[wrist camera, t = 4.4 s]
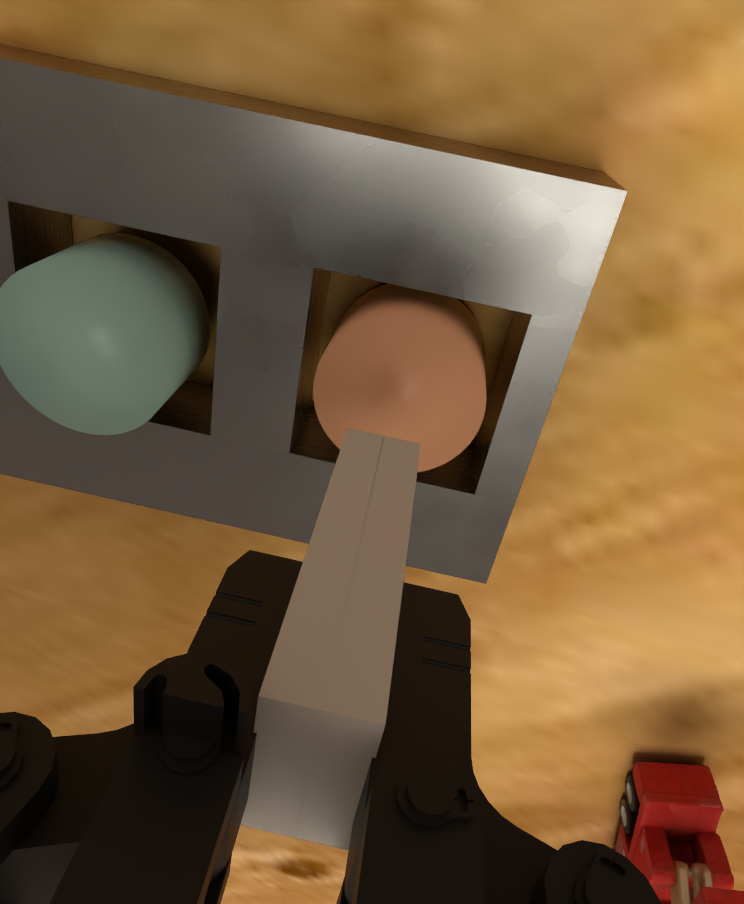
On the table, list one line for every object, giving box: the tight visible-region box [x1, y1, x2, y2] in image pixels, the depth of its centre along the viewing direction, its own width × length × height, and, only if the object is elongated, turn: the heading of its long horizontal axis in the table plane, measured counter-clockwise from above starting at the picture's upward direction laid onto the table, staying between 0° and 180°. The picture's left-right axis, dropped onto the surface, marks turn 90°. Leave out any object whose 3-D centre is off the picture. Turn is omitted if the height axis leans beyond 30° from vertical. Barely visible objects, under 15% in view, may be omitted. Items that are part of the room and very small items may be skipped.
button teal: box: [0, 233, 210, 435], centre depth 18 cm, size 5×5×3 cm
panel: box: [0, 44, 627, 584], centre depth 19 cm, size 24×12×3 cm, turn 80°
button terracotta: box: [313, 284, 486, 472], centre depth 19 cm, size 5×5×3 cm
